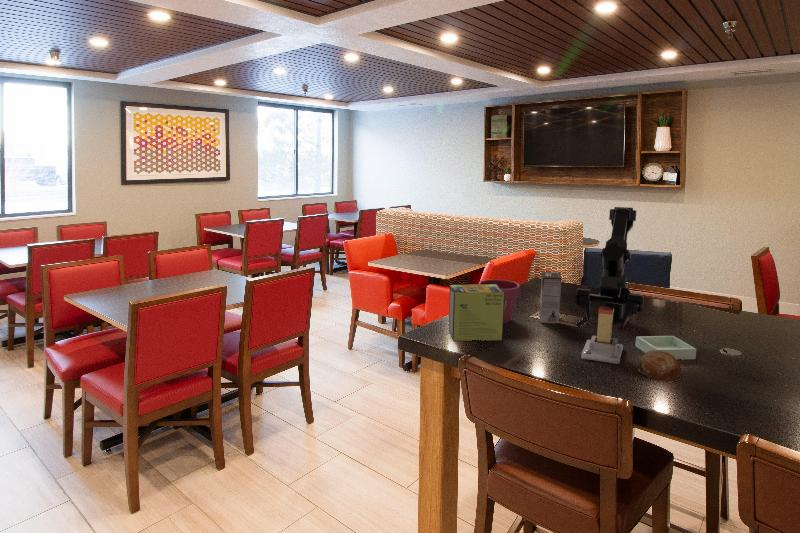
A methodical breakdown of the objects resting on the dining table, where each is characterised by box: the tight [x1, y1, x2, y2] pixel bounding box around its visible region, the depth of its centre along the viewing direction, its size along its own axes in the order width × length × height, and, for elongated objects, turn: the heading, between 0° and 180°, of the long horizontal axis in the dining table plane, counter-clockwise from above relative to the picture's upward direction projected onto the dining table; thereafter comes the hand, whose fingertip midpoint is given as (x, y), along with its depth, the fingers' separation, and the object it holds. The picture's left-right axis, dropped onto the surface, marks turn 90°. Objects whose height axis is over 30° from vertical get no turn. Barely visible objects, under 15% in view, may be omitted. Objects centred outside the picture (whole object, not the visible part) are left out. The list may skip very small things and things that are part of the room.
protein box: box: [448, 284, 504, 342], centre depth 173 cm, size 10×15×16 cm
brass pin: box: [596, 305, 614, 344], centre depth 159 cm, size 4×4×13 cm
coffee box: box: [539, 271, 562, 324], centre depth 190 cm, size 9×6×16 cm
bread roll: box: [637, 350, 682, 381], centre depth 145 cm, size 10×10×8 cm
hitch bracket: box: [580, 335, 624, 365], centre depth 159 cm, size 13×10×4 cm
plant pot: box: [478, 278, 521, 324], centre depth 191 cm, size 14×14×13 cm
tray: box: [634, 335, 697, 361], centre depth 160 cm, size 12×12×3 cm
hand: (605, 325), depth 159 cm, fingers open, 9 cm apart
